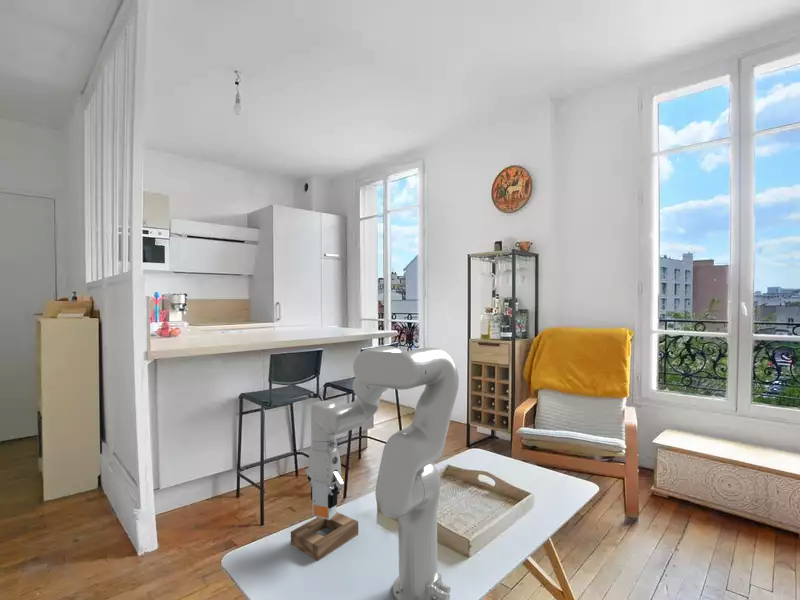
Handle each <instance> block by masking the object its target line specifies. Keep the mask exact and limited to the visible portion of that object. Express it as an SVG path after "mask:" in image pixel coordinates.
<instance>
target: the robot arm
mask: <svg viewBox="0 0 800 600" xmlns="http://www.w3.org/2000/svg"><path fill="white" fill-rule="evenodd" d="M352 369H353V375H354V376H355V378H354V380H353V381H352V390H353V393H354V394H355V396H356V397H357V398H356V399H355V400H354V401H352V402H349V403H345V404H342V405H337V404H336V403H335V402H334V401H331V400H318V401H316V402H314V403H313V404H312V405H311V407H310V432H311V433H310V438H311V439H310V441H311V442H310V445H311V446H310V450H309V455H308V456H309V457H308V466H307V468H306V469H305V470H304V471H305V473H306V476H307V480H308V482H309V487H310V500H311V501H312V477H313V476H314V477H316V478H317V479H318V480H319V482H320V483H322V484H325V485H327V487H328V491H329V495H328V508H329V509H330V508H332V507H334V506H336V507H337V505H338V493H339V492H340V490H342V487H343V486H344V485H345V482H344V481H343V479H342V463H341V457H340V451H339V448H338V442H337V436H339V435H341V434H344V433H347V432H350V431H351V430H354V429H355V430H356V429H358V428H361V427H363V426H364V425H365V424H367V423H368V421H370V420H371V419H372V418H373V416H374V415H375V414H376V413H377V412H378V411H379V408H380V404H381V402H380V401H381V400H380V399H381V397H382V396H383V395H384V394H385V392H386V391H387V390H388V389H391V390H400V391H402V390H405V391H406V390H410V389H414V388H418V387H420V386H421V387H422V386H424V390H423V391H422V393H421V394H420V396H419V398H418V401H417V403H416V407H415V412H414V415H413V419H412V422H411V424H410V425H409V426H408V427H405V428H402V429H401V430H398V431H397V432H395V433H393V434H392V435H391V436H390V437H389V438H388V439H387V441H386V443H385V444H384V447H383V450H382V455H381V459H380V464H379V469H378V473H377V478H376V483H375V484H376V485H375V492H374V493H375V501H376V504H377V507H378V509H379V510H380V512H381V513H382V514H383V516H385V517H388V518H391V519H398V527H397V528H398V532H397V533H398V534H397V535H398V540H397V541H398V576H397V577H396V578H395V580H394V581H393V585H392V593H393V597H394V598H395V600H451V595H450V593H451V587H450V586H448V585H446V584H445V583H444V582H443V581H442V574H441V573H439V572H438V507H439V499H440V493H441V477H440V473H439V471H438V469H437V467H436V465H434V464H433V463H434V462H435V461H438V460H439V459H440V458H441V456H442V454H443V452H444V448H445V445H446V439H447V435H448V431H449V428H450V422H451V417H452V414H453V409H454V405H455V402H456V399H457V396H458V390H459V381H460V378H459V372H458V368H457V365H456V363H455V362H454V360H453V358H452V357H451V355H449V354H448V353H447V351H445V350H443V349H440V348H437V347H424V348H417V349H413V350H412V349H411V350H406V351H402V350H401V349H400V348H398V347H396V346H391V345H387V346H386V345H385V346H379V347H373V348H372V347H371V348H367V349H363V350H362V351H359V353H358V354H357V355H356V357H355V359H354V361H353V365H352ZM332 481H333V482H332ZM331 485H333V486H334V489H333V490H332V487H331Z"/></svg>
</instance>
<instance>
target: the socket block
mask: <svg viewBox="0 0 800 600" xmlns="http://www.w3.org/2000/svg"><path fill="white" fill-rule="evenodd" d="M356 536H359V520H356V519H353V518H352V517H349V516H347V515H344V514H343V513H340V512H339V511H336V514H335V515H334V516H333V517H332V518H331V519H330V520H327V519H323V518H319V517H315V518H313V519H312V520H310V521H308V522H306V523H304V524H303V525H300V526H299V527H297V528H295V529H293V530H291V531H290V546H291V545H292V546H291V547H293V546H294V547H293V548H295V549H297V550H299V551H300V552H302V553H304V554H305V555H308V556H309V557H310V558H312V559H314V560H315V561H320V560H321V559H324V557H326V556H328V555H330V554H331V553H333V552H334V551H336V550H337V549H338V548H340V547H342V546H343V545H344V544H346V543H348V542H349V541H351V540H352V539H354V538H356Z"/></svg>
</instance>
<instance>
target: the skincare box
mask: <svg viewBox="0 0 800 600" xmlns="http://www.w3.org/2000/svg"><path fill="white" fill-rule="evenodd" d="M332 482H333V481H332ZM331 487H332V490H333V489H334V486H333V485H331ZM328 495H329V491H328V487H327V485H325V484H322V483H320V482H319V480H318V479H317V478H316V477H314V476H313V477H312V500H311V501H312V502H311V503H312V504H311V505H312V506H311V507H312V509H311V510H312V511H311V512H312V515H311V516H312V517H315V518H317V517H319V518H323V519H327V520H330V519H331V518H332V517H333V516H334V515H335V514H336V512H337V505H336V506H334V507H332V508H330V509H329V508H328Z"/></svg>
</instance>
